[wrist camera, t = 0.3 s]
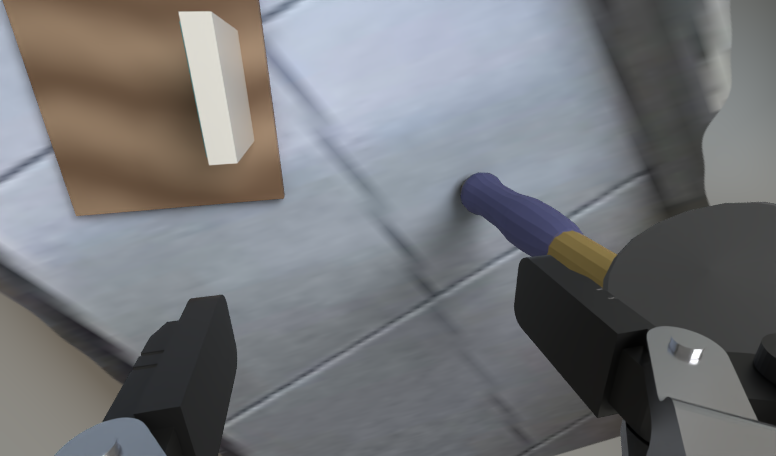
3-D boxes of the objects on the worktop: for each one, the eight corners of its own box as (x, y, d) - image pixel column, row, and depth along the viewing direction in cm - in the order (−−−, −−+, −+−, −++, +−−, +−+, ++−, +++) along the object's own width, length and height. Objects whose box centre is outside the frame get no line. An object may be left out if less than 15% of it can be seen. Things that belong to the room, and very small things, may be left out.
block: (212, 30, 28) (175, 11, 20) (237, 30, 29) (211, 11, 20) (231, 142, 31) (206, 165, 23) (254, 140, 32) (237, 163, 23)
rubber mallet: (406, 168, 36) (731, 454, 9) (468, 112, 35) (1033, 233, 8) (479, 254, 41) (834, 609, 14) (534, 206, 40) (1026, 480, 13)
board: (-3, -51, 25) (-17, -57, 24) (253, -46, 28) (250, -51, 27) (84, 211, 32) (76, 216, 31) (284, 194, 35) (284, 198, 34)
